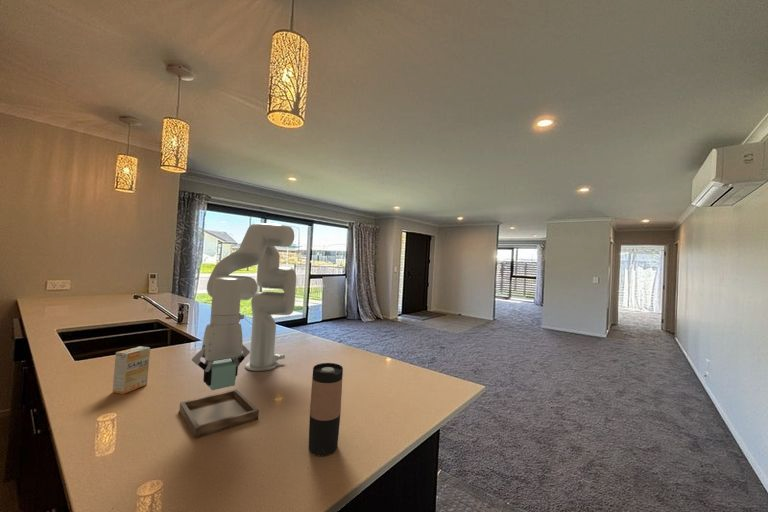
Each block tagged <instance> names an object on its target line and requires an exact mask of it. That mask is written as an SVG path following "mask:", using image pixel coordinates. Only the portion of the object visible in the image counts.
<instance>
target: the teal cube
mask: <svg viewBox="0 0 768 512" xmlns="http://www.w3.org/2000/svg"><path fill="white" fill-rule="evenodd" d="M210 371H211V372H212V374H211V385H210V386H208V388H209V389H210V390H211V391H215V390H221V389H224V388H229V387H235V385H236V380H235V375H236V364H235V363H233V362H232V360H231V359H224V360H218V361H214V362H213V364H212V367H211V370H210Z"/></svg>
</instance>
